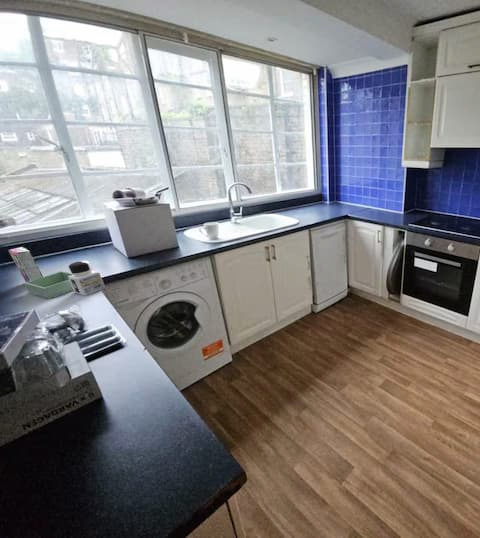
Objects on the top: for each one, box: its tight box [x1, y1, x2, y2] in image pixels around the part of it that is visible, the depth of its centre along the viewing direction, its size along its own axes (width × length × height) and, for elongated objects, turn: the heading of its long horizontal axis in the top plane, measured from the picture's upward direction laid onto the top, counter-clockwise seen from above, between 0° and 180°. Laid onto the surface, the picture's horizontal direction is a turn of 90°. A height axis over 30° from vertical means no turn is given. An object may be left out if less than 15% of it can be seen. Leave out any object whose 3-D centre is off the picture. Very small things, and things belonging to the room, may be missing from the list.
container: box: [68, 260, 106, 296], centre depth 124 cm, size 8×8×13 cm
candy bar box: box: [7, 246, 44, 282], centre depth 132 cm, size 11×5×16 cm, turn 58°
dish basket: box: [23, 270, 74, 300], centre depth 128 cm, size 13×16×5 cm
